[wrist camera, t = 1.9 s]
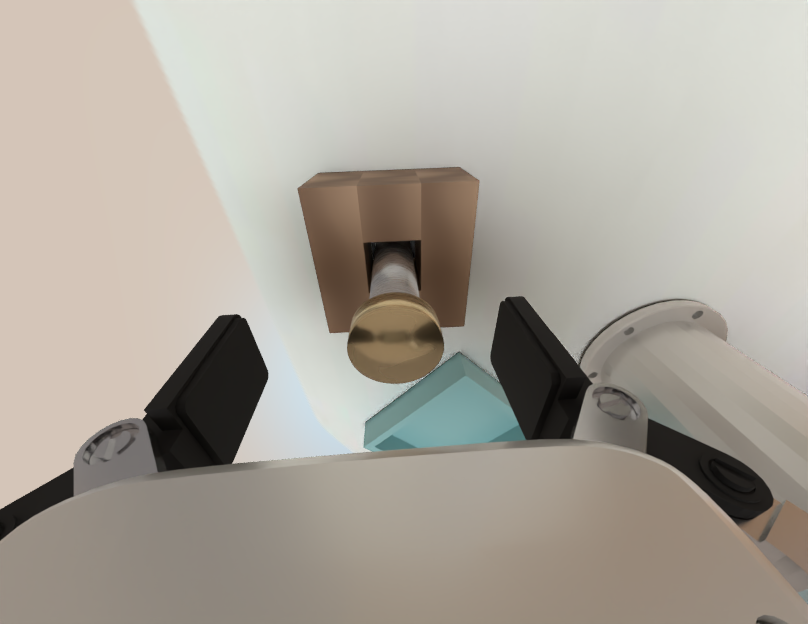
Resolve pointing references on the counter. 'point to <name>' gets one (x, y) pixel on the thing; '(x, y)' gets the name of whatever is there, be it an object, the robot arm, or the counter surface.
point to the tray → (445, 412)
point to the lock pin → (394, 322)
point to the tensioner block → (391, 235)
